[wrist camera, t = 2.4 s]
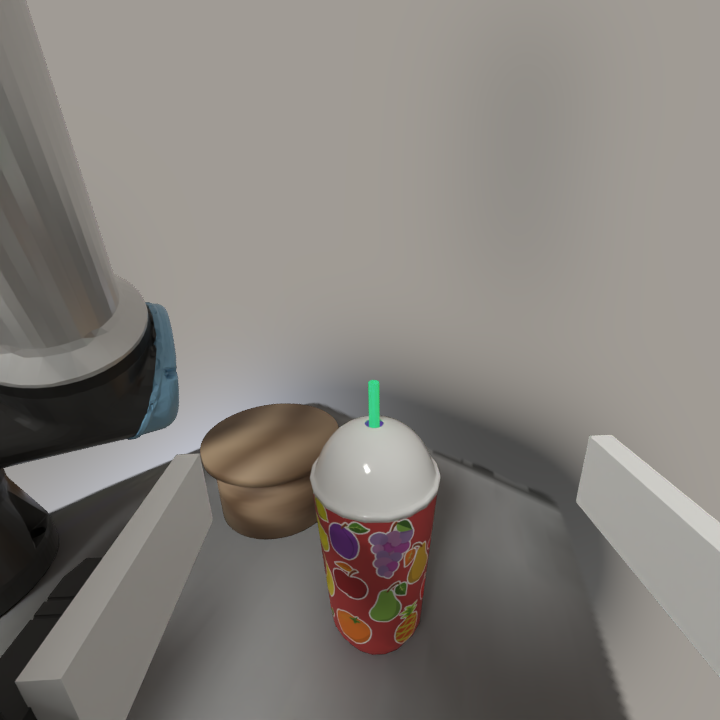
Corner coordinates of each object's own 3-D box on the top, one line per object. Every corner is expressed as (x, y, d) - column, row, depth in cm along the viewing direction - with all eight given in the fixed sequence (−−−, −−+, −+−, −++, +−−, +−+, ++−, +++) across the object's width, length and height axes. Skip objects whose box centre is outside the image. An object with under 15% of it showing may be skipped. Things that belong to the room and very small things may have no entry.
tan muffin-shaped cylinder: (183, 529, 39) (167, 462, 36) (258, 451, 51) (251, 397, 48) (310, 563, 35) (303, 491, 32) (358, 469, 47) (356, 411, 44)
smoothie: (403, 559, 35) (408, 351, 28) (452, 651, 27) (475, 400, 20) (312, 587, 32) (291, 367, 25) (338, 697, 25) (320, 430, 18)
